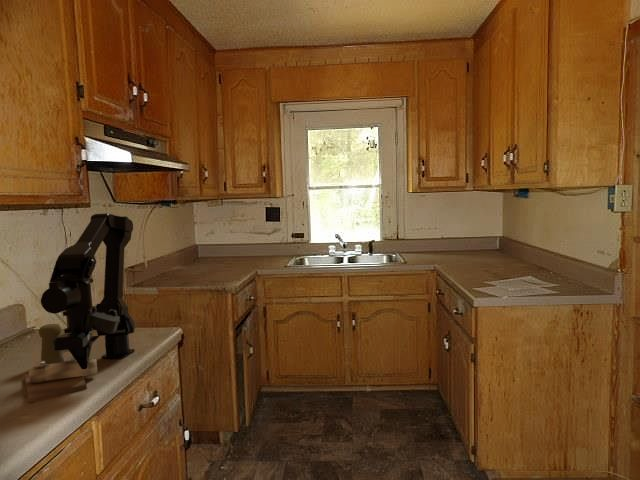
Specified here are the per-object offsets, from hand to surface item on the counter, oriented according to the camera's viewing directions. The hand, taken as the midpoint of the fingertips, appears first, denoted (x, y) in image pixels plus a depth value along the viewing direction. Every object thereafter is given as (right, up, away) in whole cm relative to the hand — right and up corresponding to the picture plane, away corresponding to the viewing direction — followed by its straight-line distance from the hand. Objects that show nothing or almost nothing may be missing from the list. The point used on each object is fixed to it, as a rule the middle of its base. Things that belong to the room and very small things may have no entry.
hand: (84, 368), depth 113 cm
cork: (-15, -3, +14) cm, 21 cm away
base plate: (-7, -4, 0) cm, 8 cm away
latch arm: (-5, -2, +1) cm, 6 cm away
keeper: (-9, -3, +3) cm, 10 cm away
